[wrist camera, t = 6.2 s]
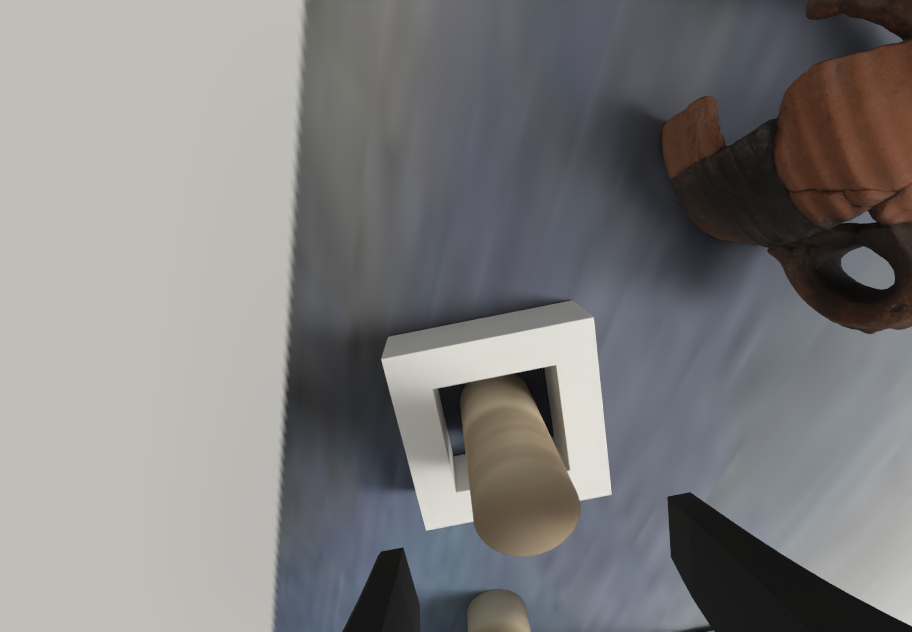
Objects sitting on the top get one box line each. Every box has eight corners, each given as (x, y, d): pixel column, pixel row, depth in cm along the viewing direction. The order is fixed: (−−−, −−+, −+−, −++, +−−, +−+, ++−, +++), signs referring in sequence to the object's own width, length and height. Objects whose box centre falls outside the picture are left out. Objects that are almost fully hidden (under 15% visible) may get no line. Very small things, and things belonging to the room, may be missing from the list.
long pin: (535, 423, 20) (587, 543, 13) (468, 438, 20) (485, 566, 13) (522, 361, 19) (571, 456, 12) (452, 377, 19) (462, 481, 12)
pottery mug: (620, 53, 16) (936, -204, 9) (760, 58, 20) (1057, -114, 13) (694, 361, 17) (1055, 368, 9) (817, 305, 21) (1135, 277, 13)
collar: (590, 458, 20) (611, 494, 18) (427, 490, 21) (426, 530, 18) (572, 300, 18) (593, 317, 16) (387, 336, 18) (381, 359, 16)
